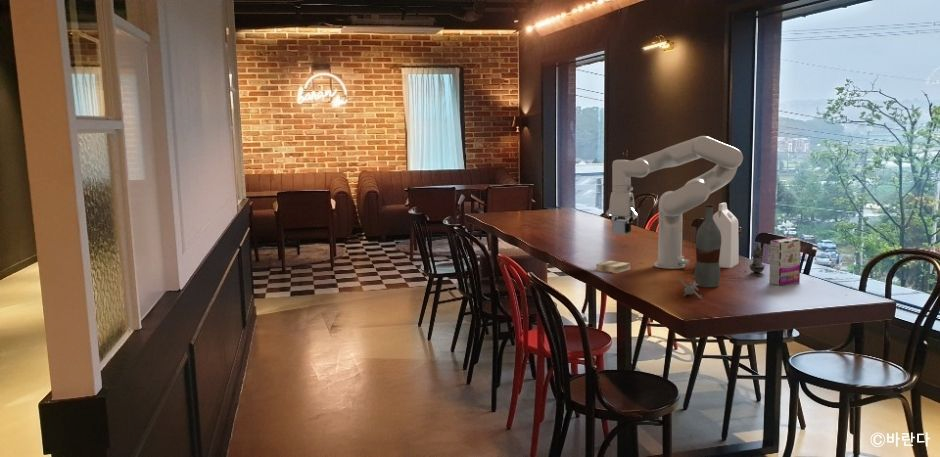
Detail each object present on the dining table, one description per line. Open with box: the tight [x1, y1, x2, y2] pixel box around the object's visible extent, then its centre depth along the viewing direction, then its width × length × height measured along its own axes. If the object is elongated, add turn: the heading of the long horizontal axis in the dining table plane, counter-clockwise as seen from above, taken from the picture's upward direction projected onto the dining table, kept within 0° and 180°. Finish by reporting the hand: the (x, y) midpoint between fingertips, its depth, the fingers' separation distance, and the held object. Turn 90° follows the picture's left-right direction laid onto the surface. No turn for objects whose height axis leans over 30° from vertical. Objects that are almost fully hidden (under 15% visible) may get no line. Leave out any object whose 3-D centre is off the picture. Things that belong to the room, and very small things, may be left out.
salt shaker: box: [748, 244, 766, 277], centre depth 282 cm, size 6×6×12 cm
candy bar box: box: [768, 237, 802, 287], centre depth 266 cm, size 11×5×16 cm, turn 118°
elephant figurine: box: [678, 278, 704, 300], centre depth 248 cm, size 10×6×9 cm
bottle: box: [693, 203, 722, 288], centre depth 264 cm, size 9×9×30 cm
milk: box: [713, 202, 740, 269], centre depth 303 cm, size 12×12×26 cm
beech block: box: [595, 260, 631, 274], centre depth 296 cm, size 10×10×3 cm
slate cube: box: [611, 219, 632, 236], centre depth 303 cm, size 6×6×6 cm
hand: (621, 231), depth 304 cm, fingers closed on slate cube, 5 cm apart
